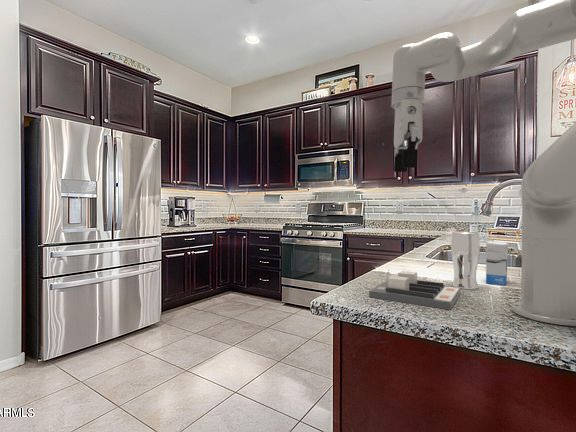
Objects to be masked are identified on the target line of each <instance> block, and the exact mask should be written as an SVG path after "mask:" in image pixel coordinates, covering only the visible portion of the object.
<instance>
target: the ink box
mask: <svg viewBox="0 0 576 432" xmlns="http://www.w3.org/2000/svg"><path fill="white" fill-rule="evenodd" d="M508 243H509V242H507V241H506V242H505V241H495V240H492V241H491V240H489V241H488V242H486V252H485V253H486V257H485V258H486V259H485V260H486V261H485V262H486V263H485V264H486V265H485V271H486V272H485V283H486V284H489V285H496V284H497V286H498V285H499V286H506V285H507V282H508V257H509V256H508V254H509V253H508V248H509V247H508V245H509V244H508Z"/></svg>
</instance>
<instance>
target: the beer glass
mask: <svg viewBox="0 0 576 432" xmlns="http://www.w3.org/2000/svg"><path fill="white" fill-rule="evenodd" d="M450 241H451V242H450V252H451V253H450V254H451V261H452V266H453V272H454V273H453V281H452V287H457V288H461V289H463V290H476V289H479V288H478V282H477V269H478V265H479V259H480V253H481V252H480V251H481V245H480V243H481V242H480V233H479V232H470V231H453V232H451V240H450Z"/></svg>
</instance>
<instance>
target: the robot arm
mask: <svg viewBox="0 0 576 432" xmlns="http://www.w3.org/2000/svg"><path fill="white" fill-rule="evenodd" d="M575 39H576V0H542V1H540V2H537V3H534V4H532V5H528V6H525V7H522V8H520V9H518V10H516V11H515V12H513V13H512V14H511V15H510V16H509V17H508V18H507V19H506V20H505V21H504V22H503V24H502V25H501V26H499V28H497V30H496V31H495V32H493V33H492V34H491V35H489V36H488V37H486V38H484V39H483V40H481V41H479V42H476V43H474V44H470V45H467V46H465V47H462V44H461V41H460V38H459V37H458V36H457V34H455V33H452V32H447V31H445V32H441V33H438V34H435V35H432V36H430V37H429V38H428V37H427V38H426V39H424V40H421V41H419V42H416V43H408V44H404V45H402V46H400V47H398V48H397V49H396V50H395V51H394V53H393V60H392V62H393V63H392V79H391V80H392V82H391V83H392V84H391V85H392V86H391V106H390V107H391V108H392V109H393V110H395V112H394V127H393V147H394V148H395V151H394V160H393V162H394V163H393V171H394V173H406V172H407V171H408V169H410V168H414V169H415V168H417V167H418V153H419V152H418V147H419V144H420V143H422V141H423V106H424V105H425V89H426V88H425V86H426V73H427V72H430V74H431V76H432V77H433V78H434V79H435V80H436V81H439V82H441V83H443V82H444V83H449V82H455V81H460V80H463V79H467V78H472V77H475V76H478V75H481V74H483V73H485V72H489V71H490V70H492V69H495V68H496V67H499V66H501V65H503V64H506V63H507V62H510V60H513V59H514V58H516V57H519V56H520V55H523V54H524V55H525V54H527V53H531V52H533V51H537V50H540V49H543V48H547V47H551V46H554V45H555V46H556V45H559V44H562V43H564V42H565V43H567V42H569V41H572V40H575ZM520 188H521V190H520V194H521V195H520V196H521V282H520V283H521V284H520V285H521V290H520V291H521V293H520V295H521V296H520V297H521V298H520V301H515V302H514V303H512V305H511V310H512V311H513V312H514V313H515V314H516V315H518V316H521V317H524V318H525V319H526V318H527V319H528V320H529V319H530V320H533V321H537V322H541V323H547V324H553V325H559V326H566V327H567V326H568V327H576V121H575V122H574V123H572V125H570V126H569V128H568V129H566V130H565V131H564V132H563V133H562V134H561V135H560V136H559V137H558V138H557V139H556V140H555V141H554V142H553V143H552V144H550V145H549V147H547V148H546V149H545V150H544V151H543V152H542V153H541V154H540V155H539V156H538V157H537V158H535V160H534V161H533V162H532V163H531V164H530V165H529V166H528V168H527V169H526V170H525V172H524V174H523V176H522V180H521V185H520Z"/></svg>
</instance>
